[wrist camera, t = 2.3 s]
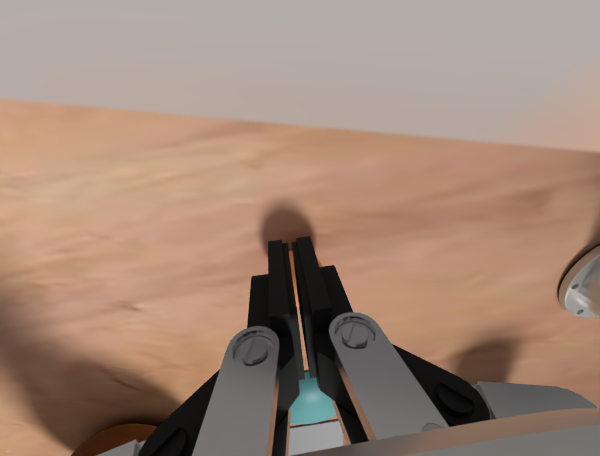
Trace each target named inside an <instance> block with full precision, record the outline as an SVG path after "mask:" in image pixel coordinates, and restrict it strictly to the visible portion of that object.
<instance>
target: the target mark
mask: <svg viewBox="0 0 600 456" xmlns="http://www.w3.org/2000/svg"><path fill="white" fill-rule="evenodd" d="M304 374H305V380H299V388H300V395H299V396H298V397H297V399H296V400H295V401H294V403H293V404H292V406H291V407H290V409H291V420H290V423H291V424H312V423H318V422H321V421H324V420H327V419H330V418H332V417H334V416H335V415H336V412H335V409H334V407H333V402H332V399H331V398H330V397H328V396H327V395H325V394H324V393H323V392H321V391H320V388H318V384H317V378H311V379H310V374H309V371H306V372H304Z"/></svg>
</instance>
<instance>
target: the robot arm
mask: <svg viewBox="0 0 600 456" xmlns="http://www.w3.org/2000/svg"><path fill="white" fill-rule="evenodd" d="M296 240H297V242H292V250H293V259H294V268H295V277H296V286H297V295H298V302H299V309H300V315H301V322H302V328H303V335H304V341H305V348H306V354H307V361H308V367H309V374H310V379H311V378H317V384H318V388H320V391H321V392H323V393H324V394H325V395H327V396H328V397H330V398H331V399H332V402H333V407H334V409H335V412H336V415H337V418H338V421H339V423H340V426H341V429H342V432H343V434H344V437H345V440H346V443H347V445H346V446H340V447H335V448H329V449H324V450H318V451H313V452H307V453H302V454H296V455H291V456H600V408H597V407H596V406H595V405H594V404H593V403H591V402H590V401H588V400H587V399H586V398H584V397H583V396H581V395H579V394H577V393H575V392H573V391H570V390H568V389H564V388H560V387H555V386H541V385H527V384H513V383H499V382H485V381H478V382H477V385H470V384H469V383H468V382H466V381H464V380H463V379H461V378H460V377H458V376H456V375H454V374H452V373H450V372H448V371H446V370H444V369H442V368H440V367H438V366H436V365H434V364H432V363H430V362H428V361H425V360H423V359H421V358H419V357H417V356H415V355H413V354H411V353H409V352H407V351H405V350H403V349H401V348H399V347H397V346H395V345H393V344H391V342H390V341H389V340H388V338H387V337H386V335H385V334H384V332H383V331H382V330H381V328H380V327H379V325H378V324H377V323H376V322H375V321H374V320H373V319H372V318H370V317H369V316H367V315H364V314H361V313H355V312H353V311H352V308H351V306H350V303H349V301H348V298H347V296H346V293H345V291H344V288H343V286H342V283H341V281H340V278H339V276H338V273H337V271H336V268H335V266H334V265H332V266H324V267H319V264H318V261H317V258H316V254H315V251H314V248H313V245H312V241H311V238H310V236H308V237H300V238H296ZM268 271H269V274H265V275H258V276H252V279H251V289H250V301H249V313H248V325H247V329H244V330H242V331H241V332H239V333H238V334H236V335H235V336H234V338H233V339H232V340H231V341H230V343H229V345H228V347H227V350H226V353H225V356H224V359H223V362H222V365H221V368H220V369H219V370H218V371H217V372H216V373H215V374H214V375H213V376H212V377H211V378H210V379H209V380H208V381H207V382H206V383H204V384H203V385H202V386H201V387H200V388H199V389H198V390H197V391H196V392H195V393H194V394H193V395H192V396H190V397H189V398H188V399H187V400H186V401H185V402H184V403H183V404H182V405H181V406H180V407H179V408H178V409H177V410H175V411H174V412H173V413H172V414H171V415H170V416H169V417H168V418H167V419H166V420H165V421H164V422H163V423H161V424H160V425H159V426H158V427H157V428H156V429H155V430H154V431H153V433H152V434H151V435H150V436H149V437H148V438H147V440H145V441H142V442H140V443H138V442H137V441H136V440H133V441H131V442H128V443H126V444H124V445H121V446H119V447H116V448H114V449H111V450H109V451H106V452H104V453H102V454H99V455H97V456H288V453H289V436H290V420H291V409H290V407H291V406H292V404H293V403H294V401H295V400H296V399H297V397H298V396H299V395H300V388H299V380H305V374H304V366H303V357H302V349H301V340H300V331H299V323H298V315H297V307H296V300H295V293H294V286H293V279H292V272H291V264H290V257H289V250H288V243H282V240H277V241H269V242H268ZM559 301H560V304H561V305H562V307H563V308H564V309H566V310H567V311H568V312H570V313H571V314H573V315H575V316H578V317H599V318H600V245H599V246H598V247H596V248H594V249H593V250H591V251H590V252H589V253H587V254H586V255H585V256H583V257H582V258H581V259H580V260H579V261H578V262H577V263H576V264H575V265H574V266H573V267H572V268H571V269H570V271H569V272H568V273H567V275H566V276H565V278H564V280H563V282H562V283H561V286H560V289H559Z"/></svg>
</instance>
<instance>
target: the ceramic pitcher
mask: <svg viewBox="0 0 600 456" xmlns="http://www.w3.org/2000/svg"><path fill="white" fill-rule="evenodd" d="M156 428H157V427H156V426H152V425H145V424H123V425H118V426H114V427H111V428H108V429H105V430H103V431H101V432H99V433H96V434H95V435H93V436H92V437H90V438H88V439H87V440H86V441H85V442H84V443H82V444H81V445H80V446H79V447H78V448H77V449H76V450H75V452H74V453H73V454H72V455H71V456H97V455H99V454H102V453H104V452H106V451H109V450H111V449H114V448H116V447H119V446H121V445H124V444H126V443H128V442H131V441H133V440H136V441H137V442H138V443H140V442H142V441H145V440H147V438H148V437H149V436H150V435H151V434H152V433H153V431H154V430H155V429H156Z"/></svg>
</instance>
